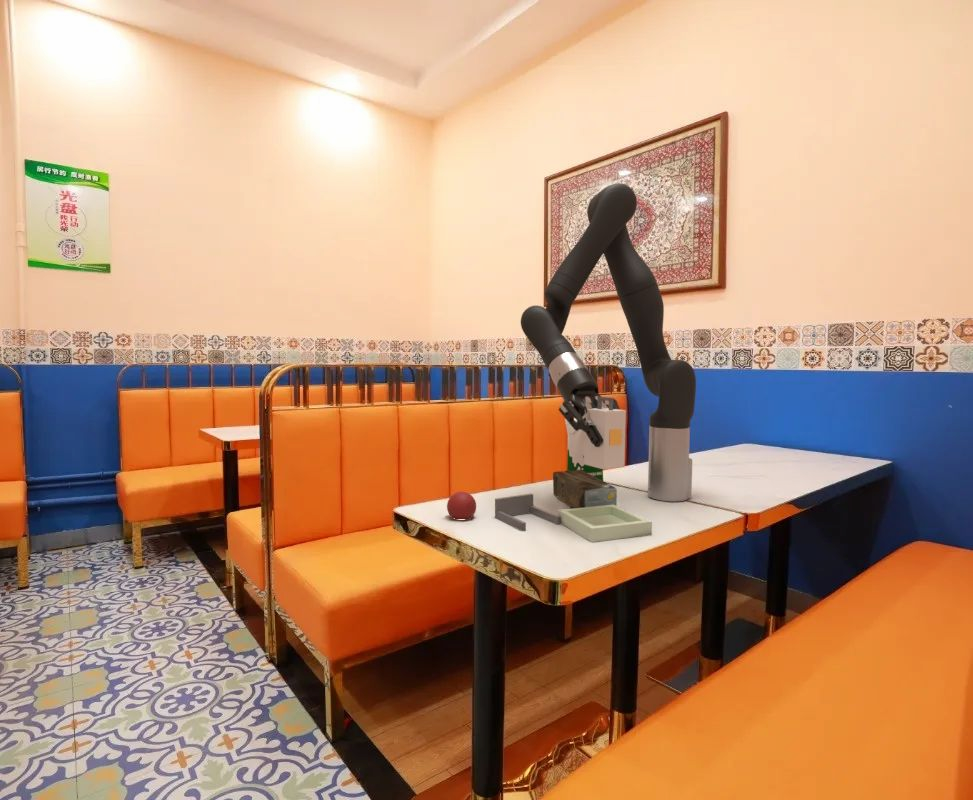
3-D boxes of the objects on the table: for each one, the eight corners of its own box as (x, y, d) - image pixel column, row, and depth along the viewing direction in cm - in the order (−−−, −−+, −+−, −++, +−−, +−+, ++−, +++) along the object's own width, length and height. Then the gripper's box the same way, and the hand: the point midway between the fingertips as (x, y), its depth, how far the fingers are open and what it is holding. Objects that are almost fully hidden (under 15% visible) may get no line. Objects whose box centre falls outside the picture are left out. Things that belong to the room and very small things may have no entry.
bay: (531, 511, 117) (531, 493, 116) (560, 523, 108) (560, 504, 107) (494, 517, 112) (495, 498, 112) (522, 530, 103) (522, 510, 103)
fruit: (451, 531, 110) (459, 502, 106) (441, 511, 114) (449, 483, 110) (478, 526, 112) (487, 498, 108) (467, 507, 117) (476, 480, 113)
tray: (613, 516, 113) (613, 504, 113) (651, 534, 101) (651, 521, 101) (558, 522, 109) (558, 510, 109) (591, 542, 97) (591, 528, 97)
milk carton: (583, 493, 133) (584, 413, 132) (560, 486, 141) (560, 410, 139) (609, 489, 138) (610, 412, 137) (584, 482, 146) (585, 409, 144)
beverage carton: (583, 517, 113) (583, 486, 113) (551, 495, 132) (551, 469, 132) (617, 514, 115) (618, 484, 115) (581, 494, 134) (581, 468, 133)
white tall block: (602, 462, 108) (604, 396, 107) (624, 467, 103) (626, 397, 102) (583, 464, 106) (585, 396, 105) (605, 469, 100) (606, 398, 99)
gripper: (552, 366, 106) (592, 433, 96) (607, 366, 113) (649, 429, 103) (536, 391, 111) (572, 458, 101) (590, 390, 118) (628, 452, 108)
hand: (611, 443), depth 102 cm, fingers closed on white tall block, 5 cm apart
